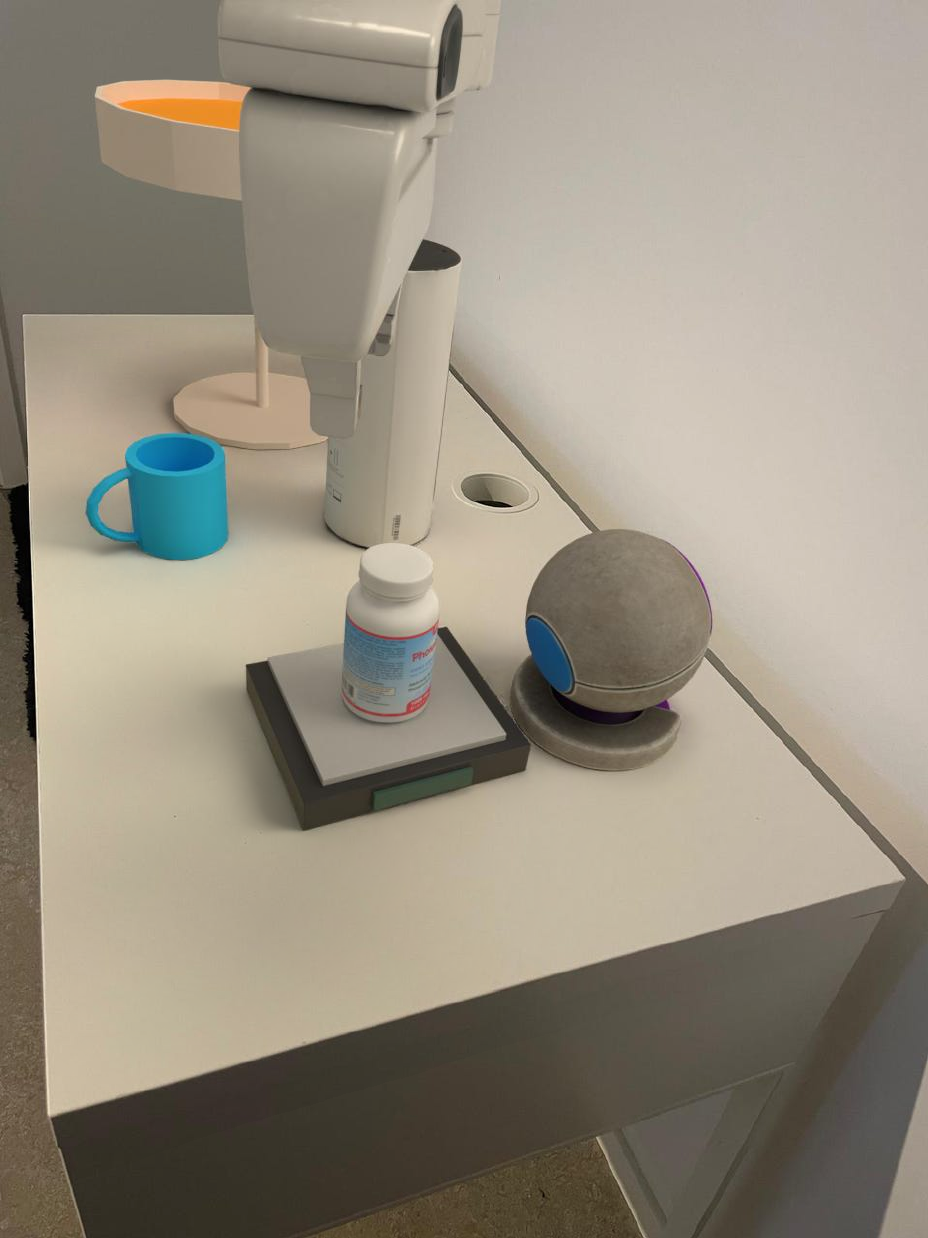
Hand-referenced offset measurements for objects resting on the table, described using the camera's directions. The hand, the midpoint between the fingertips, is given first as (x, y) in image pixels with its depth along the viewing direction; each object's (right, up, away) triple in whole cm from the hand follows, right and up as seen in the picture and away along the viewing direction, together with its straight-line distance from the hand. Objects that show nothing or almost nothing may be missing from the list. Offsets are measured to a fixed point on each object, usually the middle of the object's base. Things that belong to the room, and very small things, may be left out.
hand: (356, 386), depth 40 cm
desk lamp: (-19, +14, +65) cm, 69 cm away
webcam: (+15, -17, +29) cm, 37 cm away
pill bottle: (-1, -16, +23) cm, 28 cm away
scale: (-1, -18, +24) cm, 31 cm away
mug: (-22, -3, +41) cm, 47 cm away
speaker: (-4, -1, +47) cm, 48 cm away
